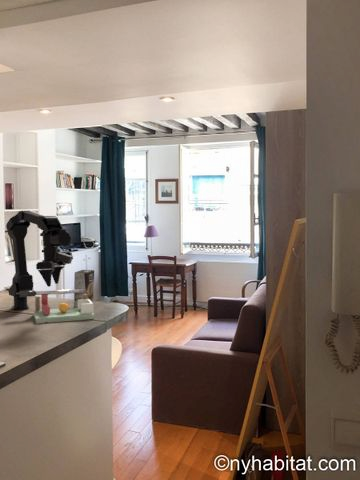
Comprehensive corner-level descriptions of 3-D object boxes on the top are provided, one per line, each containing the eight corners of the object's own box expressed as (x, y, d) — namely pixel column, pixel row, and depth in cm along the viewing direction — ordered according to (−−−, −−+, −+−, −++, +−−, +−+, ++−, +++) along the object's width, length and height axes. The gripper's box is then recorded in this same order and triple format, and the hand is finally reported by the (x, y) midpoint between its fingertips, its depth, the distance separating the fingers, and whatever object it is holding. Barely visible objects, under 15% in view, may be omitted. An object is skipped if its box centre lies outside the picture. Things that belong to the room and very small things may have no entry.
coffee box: (86, 307, 202) (87, 273, 201) (73, 306, 204) (73, 272, 202) (94, 303, 211) (94, 269, 210) (81, 302, 213) (82, 269, 211)
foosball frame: (33, 315, 188) (33, 296, 187) (88, 311, 197) (88, 293, 196) (36, 323, 176) (36, 303, 175) (94, 318, 185) (94, 300, 184)
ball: (58, 311, 187) (58, 302, 187) (67, 310, 189) (67, 301, 188) (59, 313, 184) (59, 304, 183) (69, 313, 185) (69, 303, 185)
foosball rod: (19, 310, 186) (19, 290, 185) (82, 305, 196) (82, 287, 195) (21, 316, 176) (21, 296, 175) (86, 311, 186) (87, 292, 186)
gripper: (62, 246, 171) (65, 286, 171) (76, 244, 189) (78, 281, 189) (34, 248, 171) (37, 288, 171) (50, 246, 190) (53, 282, 190)
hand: (53, 285), depth 181 cm, fingers open, 9 cm apart
